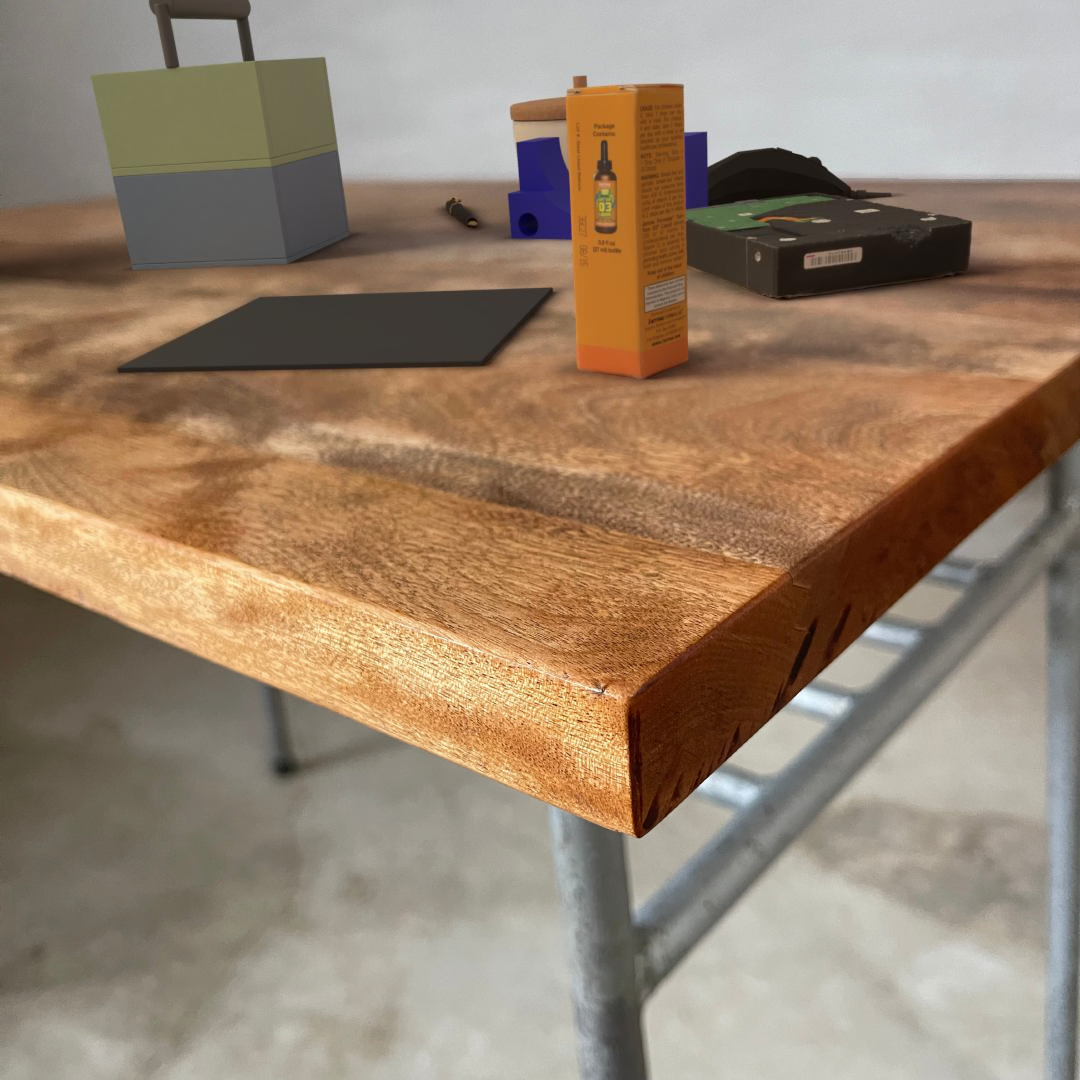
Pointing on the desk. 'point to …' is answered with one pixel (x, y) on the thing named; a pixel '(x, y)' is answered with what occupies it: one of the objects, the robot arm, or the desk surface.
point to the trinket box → (544, 119)
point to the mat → (351, 332)
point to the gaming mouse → (774, 177)
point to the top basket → (214, 105)
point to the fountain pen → (460, 212)
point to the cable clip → (548, 187)
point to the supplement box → (628, 227)
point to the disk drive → (822, 244)
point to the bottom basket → (233, 214)
